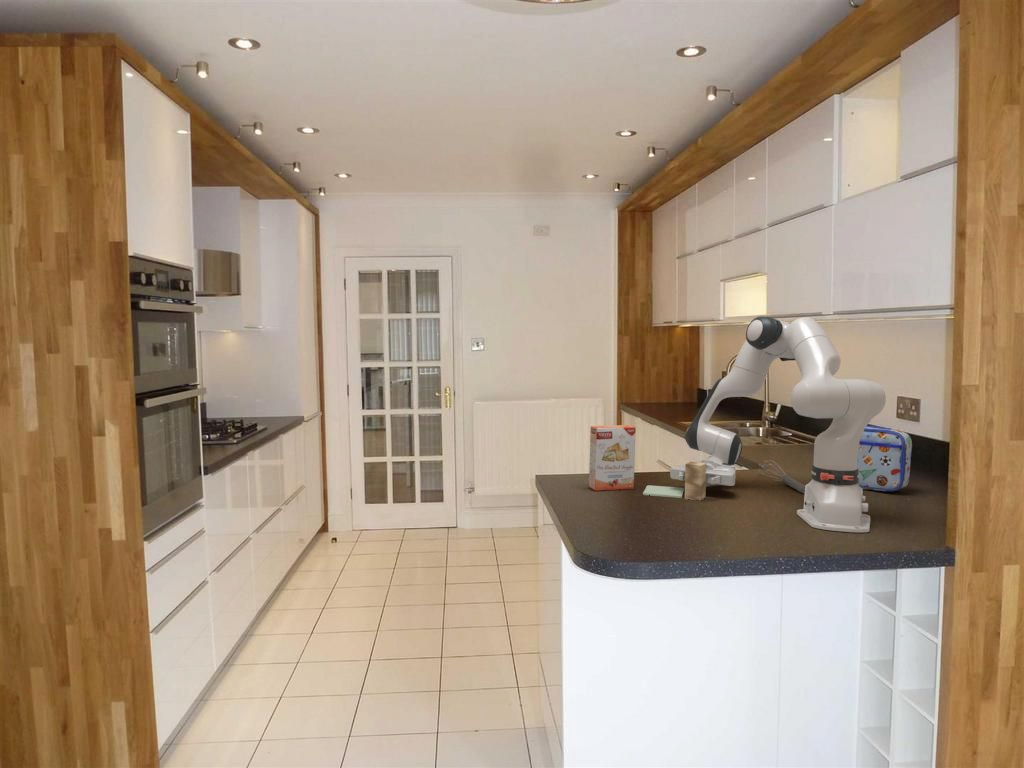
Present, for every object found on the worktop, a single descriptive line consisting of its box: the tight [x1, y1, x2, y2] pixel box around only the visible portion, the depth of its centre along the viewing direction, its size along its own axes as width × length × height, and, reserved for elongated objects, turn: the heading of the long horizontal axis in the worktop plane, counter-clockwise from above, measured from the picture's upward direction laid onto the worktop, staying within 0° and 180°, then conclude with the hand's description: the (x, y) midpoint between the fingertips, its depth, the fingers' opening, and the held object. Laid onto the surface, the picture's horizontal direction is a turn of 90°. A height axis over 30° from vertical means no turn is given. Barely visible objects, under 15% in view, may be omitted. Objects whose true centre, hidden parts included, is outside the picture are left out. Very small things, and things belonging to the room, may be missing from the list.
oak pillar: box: [684, 461, 707, 502], centre depth 212 cm, size 5×5×11 cm
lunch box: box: [857, 425, 913, 492], centre depth 229 cm, size 28×10×22 cm, turn 43°
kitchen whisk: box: [758, 459, 806, 495], centre depth 233 cm, size 6×34×6 cm, turn 5°
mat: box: [642, 485, 685, 499], centre depth 220 cm, size 12×12×1 cm
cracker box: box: [588, 424, 636, 492], centre depth 225 cm, size 14×6×21 cm, turn 105°
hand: (695, 479), depth 212 cm, fingers open, 8 cm apart
